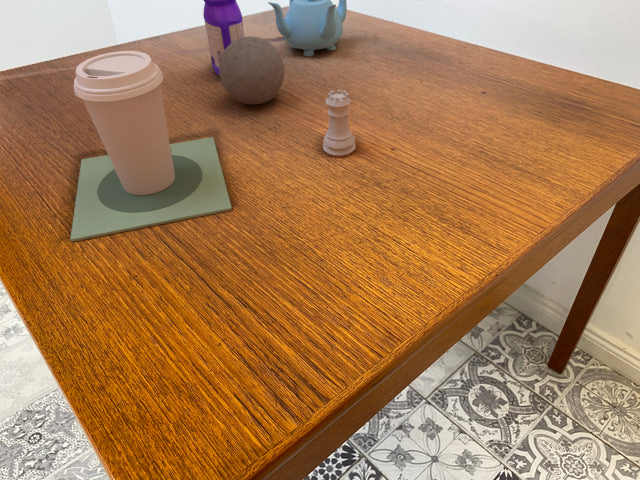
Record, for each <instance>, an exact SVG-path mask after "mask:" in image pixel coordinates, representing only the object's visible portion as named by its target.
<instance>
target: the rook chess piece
mask: <svg viewBox="0 0 640 480" xmlns="http://www.w3.org/2000/svg"><path fill="white" fill-rule="evenodd" d="M351 103H352V99H351V98H350V97H349V93H348V92H347V91H346V90H341V89H336V92H335V90H331V91H329V92H328V94H327V98H326V99H325V104H326V105H327V106H328V110H327V115H328V117H329V119H328V129H327V131H325V135H324V136H323V139H322V140H323V141H322V143H323V144H322V149H323V151H324V152H325V153H326V154H327V155H328V156H331V157H335V158H342V157H348V156H349V155H351V154H352V153H353V152H354V150H355V149H356V144H355V142H356V138H355V135H354V134H353V132H352V130H351V129H350V124H349V114H350V110H349V109H348V107H349V106H350V104H351Z"/></svg>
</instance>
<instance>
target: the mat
mask: <svg viewBox="0 0 640 480" xmlns="http://www.w3.org/2000/svg"><path fill="white" fill-rule="evenodd" d="M170 147H171V153H172V160H173V166H174V172H175V179H174V181H173V183H172V184H171V185H170V186H169V187H167V188H166V189H164V190H162V191H160V192H157V193H154V194H149V195H134V194H130V193H128V192H126V191H125V190H124V188H123V186H122V184H121V182H120V180H119V177H118V175H117V173H116V171H115V169H114V166H113V164H112V162H111V160H110V158H109V156H108V154H105V155H100V156H92V157H88V158H82V159H81V160H80V168H79V176H78V182H77V187H76V197H75V203H74V210H73V218H72V224H71V231H70V238H69V240H70V242H71V243H74V242H75V243H76V242H80V241H85V240H90V239H95V238H100V237H105V236H111V235H115V234H119V233H125V232H131V231H135V230H140V229H144V228H145V229H146V228H149V227H155V226H160V225H165V224H170V223H175V222H180V221H185V220H189V219H190V220H191V219H195V218H201V217H206V216H210V215H215V214H221V213H226V212H230V211H231V212H232V211H233V208H232V204H231V199H230V196H229V192H228V188H227V184H226V181H225V177H224V171H223V168H222V165H221V162H220V158H219V154H218V150H217V145H216V142H215V138H214V136H210V137H204V138H199V139H198V138H197V139H193V140H185V141H181V142H175V143H170Z"/></svg>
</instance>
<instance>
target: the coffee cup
mask: <svg viewBox="0 0 640 480" xmlns="http://www.w3.org/2000/svg"><path fill="white" fill-rule="evenodd" d="M163 81H164V74H163V72H162V70H161V68H160V67H159V65H158V64H157V63H155V62H154V61H153V58H152V57H151V56H150V55H149V54H147V53H145V52H142V51H137V50H120V51H112V52H111V51H110V52H107V53H102V54H98V55H95V56H92V57H90V58H87V59H85V60H84V61H82V62H81V63H79V64H78V65H77V66H76V68H75V78H74V80H73V92H74V95H75V96H76V97H77V98H79V99H81V100H82V102H83V104H84V106H85V108H86V111H87V112H88V114H89V117H90V119H91V121H92V123H93V125H94V127H95V130H96V132H97V134H98V137H99V139H100V140H101V142H102V145H103V147H104V149H105V152H106V153H107V155H108V156H109V158H110V160H111V162H112V164H113V166H114V169H115V171H116V173H117V175H118V177H119V180H120V182H121V184H122V186H123V188H124V190H125V191H126V192H128V193H130V194H134V195H149V194H154V193H157V192H160V191H162V190H164V189H166V188H167V187H169V186H170V185H171V184H172V183H173V181H174V179H175V172H174V166H173V160H172V153H171V147H170V144H171V141H170V135H169V130H168V123H167V118H166V117H167V116H166V111H165V110H166V109H165V104H164V97H163V92H162V85H161V83H163Z"/></svg>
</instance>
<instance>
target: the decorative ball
mask: <svg viewBox="0 0 640 480" xmlns="http://www.w3.org/2000/svg"><path fill="white" fill-rule="evenodd" d="M219 75H220V76H219ZM219 75H218V76H219V79H220V83H221V84H222V87H223V88H224V90H225V91H226V92H227V94H228V95H229V96H230V97H231V98H233V99H234V100H235V101H237V102H240V103H242V104H245V105H251V106H253V105H262V104H264V103H267V102H269V101H270V100H271V99H273V98H274V97H275V96H276V95H277V94H278V93H279V91H280V90H281V88H282V86H283V83H284V79H285V64H284V60H283V58H282V56H281V53H280V52H279V51H278V50H277V48H276V46H274V45H273V44H272V43H271V42H269V41H267V40H266V39H264V38H261V37H258V36H244V37H243V38H239V39H237V40H235V41H233V42H232V43H231V44H230V45H229V46H228V47H227V48H226V49H225V50H224V52H223V54H222V56H221V59H220V63H219Z"/></svg>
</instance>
